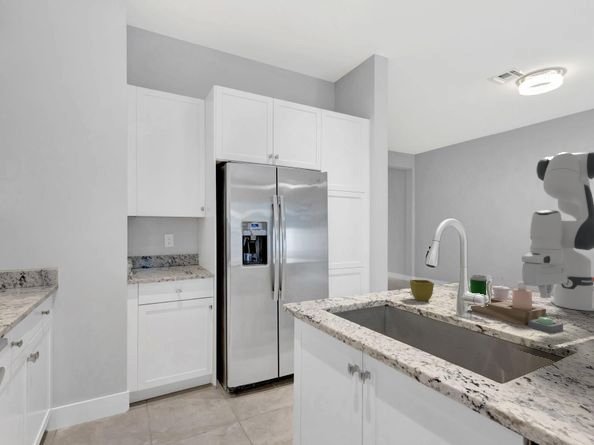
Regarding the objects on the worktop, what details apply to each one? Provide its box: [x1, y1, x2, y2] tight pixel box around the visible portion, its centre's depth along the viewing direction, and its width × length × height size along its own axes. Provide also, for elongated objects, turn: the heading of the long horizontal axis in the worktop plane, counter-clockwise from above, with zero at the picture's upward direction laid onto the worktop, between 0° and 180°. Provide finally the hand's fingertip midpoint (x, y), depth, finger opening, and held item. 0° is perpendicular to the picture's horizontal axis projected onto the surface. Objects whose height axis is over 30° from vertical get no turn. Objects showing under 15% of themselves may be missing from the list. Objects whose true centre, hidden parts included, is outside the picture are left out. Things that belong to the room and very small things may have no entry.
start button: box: [538, 316, 554, 325], centre depth 111 cm, size 4×4×4 cm
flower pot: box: [409, 279, 435, 302], centre depth 157 cm, size 9×9×9 cm
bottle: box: [511, 281, 533, 311], centre depth 121 cm, size 6×6×14 cm
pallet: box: [471, 297, 547, 326], centre depth 127 cm, size 13×22×6 cm, turn 25°
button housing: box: [527, 319, 564, 333], centre depth 111 cm, size 7×7×3 cm
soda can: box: [469, 274, 488, 295], centre depth 157 cm, size 8×8×12 cm
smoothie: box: [491, 276, 511, 301], centre depth 140 cm, size 6×6×14 cm
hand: (545, 297), depth 111 cm, fingers closed
